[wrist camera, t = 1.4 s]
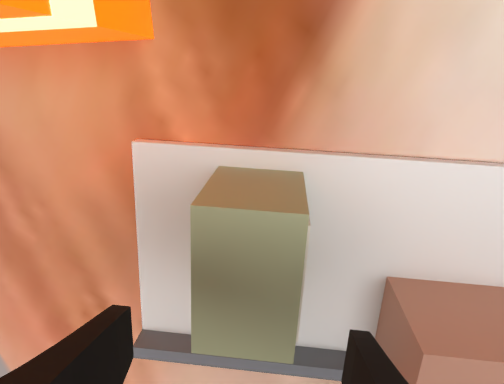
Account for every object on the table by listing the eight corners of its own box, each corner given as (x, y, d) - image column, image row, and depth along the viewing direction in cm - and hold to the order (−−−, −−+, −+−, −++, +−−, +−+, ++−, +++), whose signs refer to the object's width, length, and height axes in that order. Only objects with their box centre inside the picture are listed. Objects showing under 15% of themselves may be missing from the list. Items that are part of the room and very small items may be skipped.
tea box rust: (494, 355, 22) (566, 456, 16) (373, 343, 22) (403, 436, 17) (516, 288, 20) (604, 373, 15) (386, 276, 21) (423, 354, 15)
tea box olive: (306, 172, 19) (313, 215, 14) (294, 286, 22) (296, 364, 16) (218, 165, 20) (190, 205, 14) (216, 279, 22) (191, 353, 16)
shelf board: (488, 370, 23) (510, 403, 21) (147, 333, 25) (133, 360, 22) (554, 167, 19) (590, 180, 17) (137, 138, 20) (118, 147, 18)
